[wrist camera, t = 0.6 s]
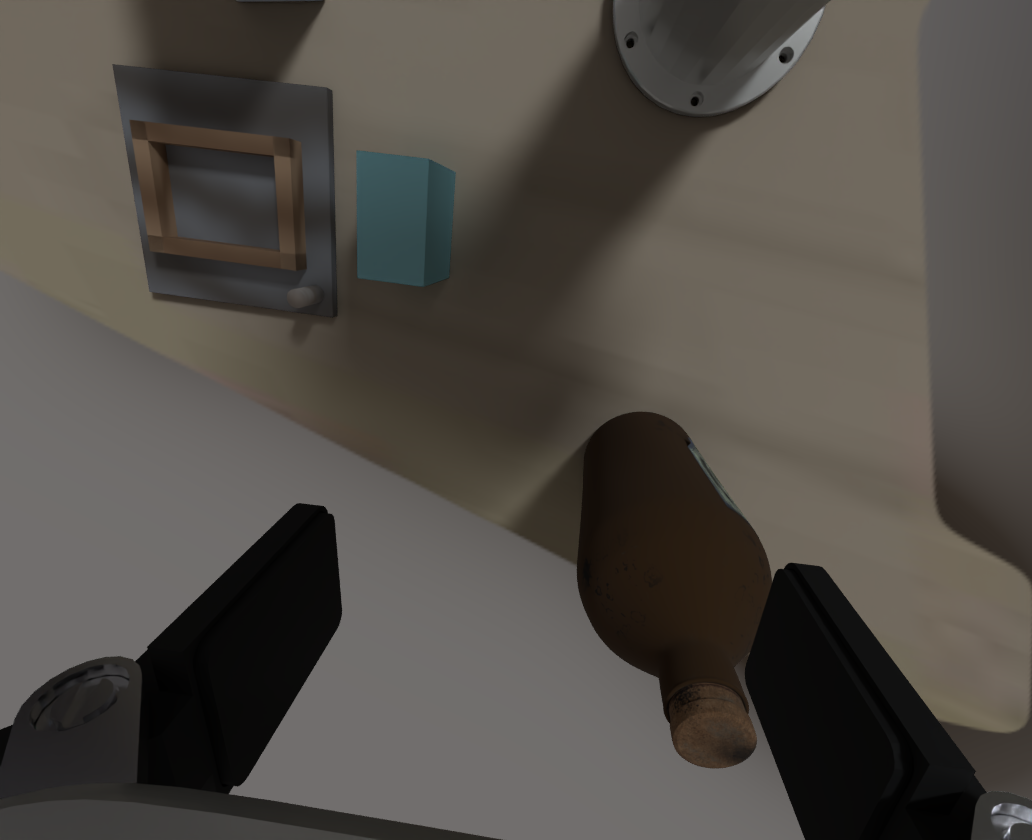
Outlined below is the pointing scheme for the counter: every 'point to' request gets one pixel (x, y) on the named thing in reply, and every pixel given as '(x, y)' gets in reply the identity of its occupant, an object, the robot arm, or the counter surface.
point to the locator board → (233, 187)
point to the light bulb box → (273, 0)
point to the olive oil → (673, 579)
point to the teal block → (403, 219)
